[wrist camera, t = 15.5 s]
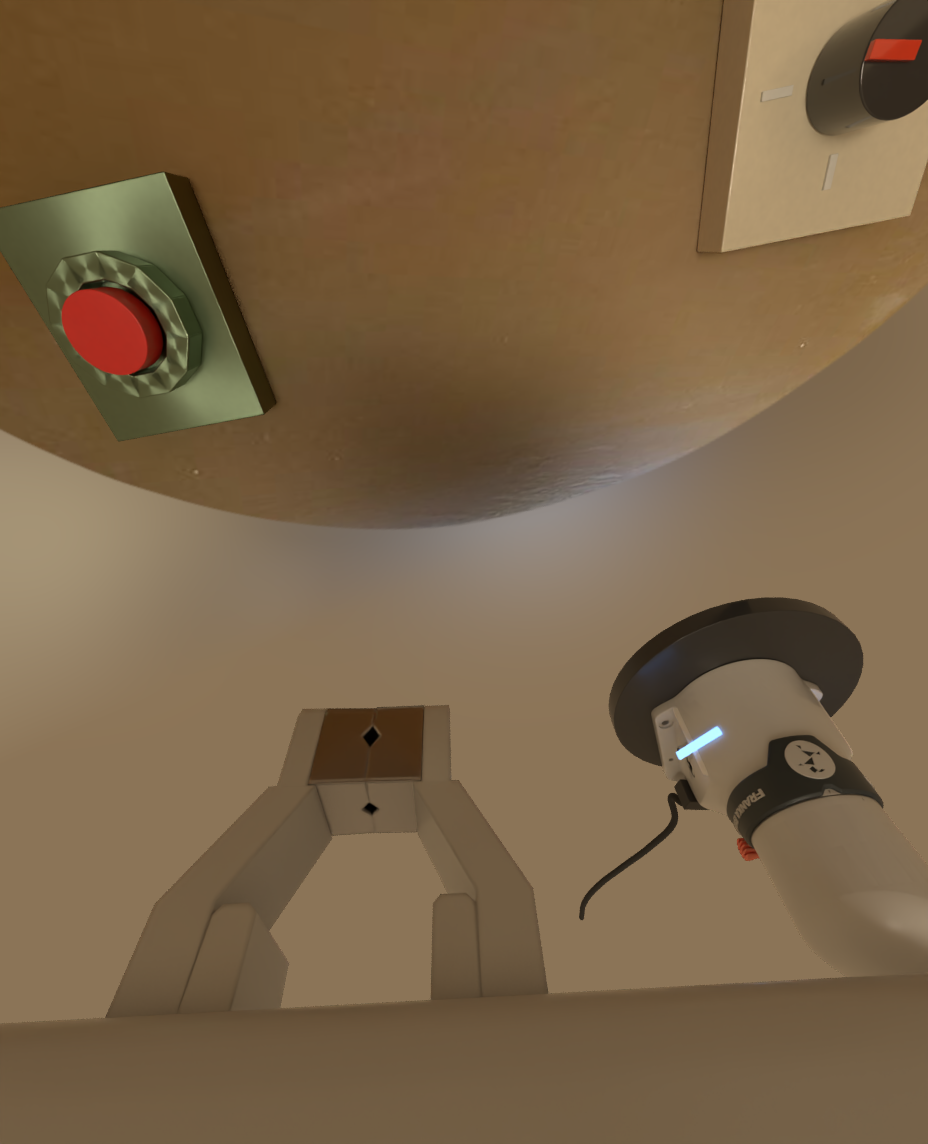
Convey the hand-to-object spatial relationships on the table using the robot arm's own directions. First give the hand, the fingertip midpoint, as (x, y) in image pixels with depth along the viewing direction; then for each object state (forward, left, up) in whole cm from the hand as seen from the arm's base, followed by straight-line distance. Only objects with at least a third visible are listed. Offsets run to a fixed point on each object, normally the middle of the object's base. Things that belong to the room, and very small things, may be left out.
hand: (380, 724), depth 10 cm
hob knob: (+11, -23, -24) cm, 35 cm away
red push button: (+7, +15, -23) cm, 28 cm away
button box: (+7, +15, -27) cm, 32 cm away
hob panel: (+11, -23, -27) cm, 37 cm away
